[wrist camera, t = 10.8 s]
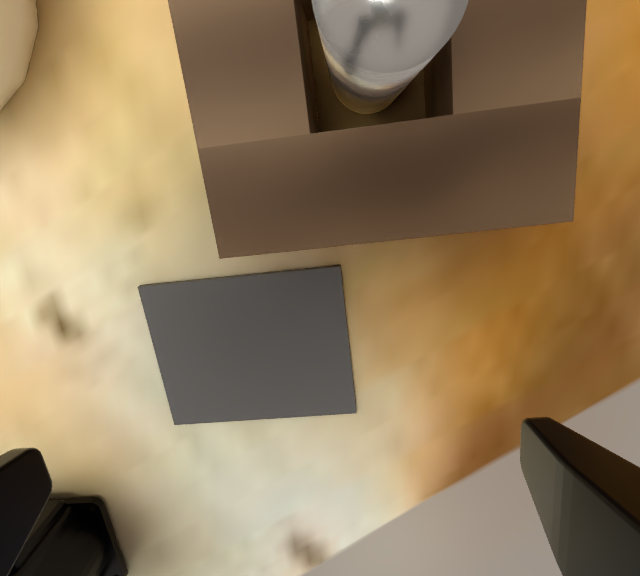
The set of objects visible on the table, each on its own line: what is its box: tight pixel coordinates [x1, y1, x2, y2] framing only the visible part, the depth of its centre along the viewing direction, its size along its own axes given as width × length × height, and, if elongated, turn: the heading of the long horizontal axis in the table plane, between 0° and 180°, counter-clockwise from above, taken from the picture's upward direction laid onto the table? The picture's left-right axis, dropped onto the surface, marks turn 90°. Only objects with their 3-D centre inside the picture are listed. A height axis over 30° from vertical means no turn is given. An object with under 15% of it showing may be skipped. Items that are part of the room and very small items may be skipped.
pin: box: [312, 0, 468, 114], centre depth 13 cm, size 3×3×10 cm
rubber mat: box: [138, 265, 356, 425], centre depth 22 cm, size 8×10×1 cm
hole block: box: [168, 0, 587, 259], centre depth 15 cm, size 12×12×5 cm
